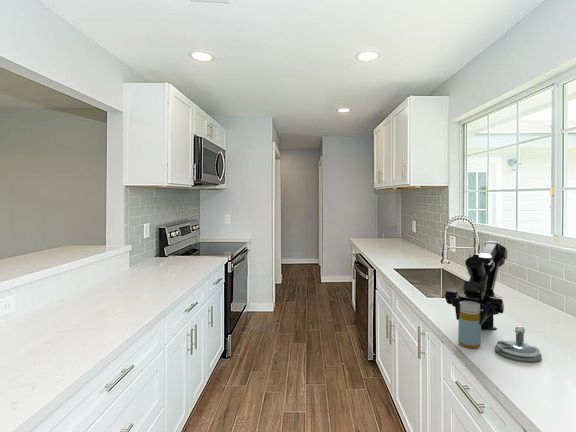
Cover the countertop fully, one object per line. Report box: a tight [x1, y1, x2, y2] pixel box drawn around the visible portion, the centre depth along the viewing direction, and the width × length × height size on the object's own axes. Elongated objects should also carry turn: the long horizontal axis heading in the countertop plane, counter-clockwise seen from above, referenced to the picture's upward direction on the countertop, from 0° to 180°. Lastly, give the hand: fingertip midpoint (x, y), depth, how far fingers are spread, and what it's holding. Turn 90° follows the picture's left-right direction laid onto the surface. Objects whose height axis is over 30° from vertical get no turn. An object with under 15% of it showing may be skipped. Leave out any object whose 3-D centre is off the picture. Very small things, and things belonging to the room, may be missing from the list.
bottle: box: [457, 301, 482, 350], centre depth 127 cm, size 7×7×15 cm
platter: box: [496, 339, 541, 358], centre depth 120 cm, size 12×12×1 cm
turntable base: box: [494, 325, 542, 364], centre depth 120 cm, size 13×13×7 cm
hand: (468, 321), depth 126 cm, fingers closed on bottle, 7 cm apart
